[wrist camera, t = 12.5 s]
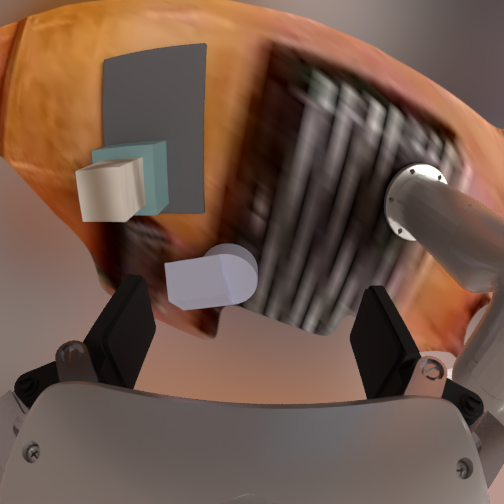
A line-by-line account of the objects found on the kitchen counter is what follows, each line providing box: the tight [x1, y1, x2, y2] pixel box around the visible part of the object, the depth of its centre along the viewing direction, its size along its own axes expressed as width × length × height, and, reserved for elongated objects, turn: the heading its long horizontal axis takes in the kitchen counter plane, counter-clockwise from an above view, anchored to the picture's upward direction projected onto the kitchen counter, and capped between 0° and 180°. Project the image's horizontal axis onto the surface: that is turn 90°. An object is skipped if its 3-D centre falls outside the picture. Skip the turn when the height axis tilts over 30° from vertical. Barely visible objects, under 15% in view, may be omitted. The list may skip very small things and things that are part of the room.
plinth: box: [91, 140, 169, 215], centre depth 33 cm, size 9×9×5 cm
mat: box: [103, 43, 207, 214], centre depth 33 cm, size 15×24×1 cm, turn 178°
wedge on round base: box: [165, 244, 258, 310], centre depth 41 cm, size 9×7×13 cm
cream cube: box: [75, 157, 146, 222], centre depth 28 cm, size 6×6×6 cm
